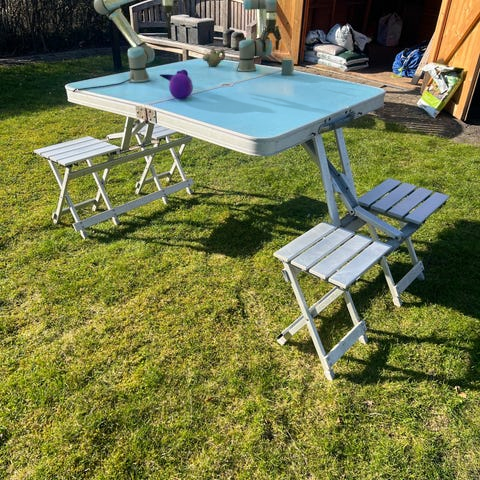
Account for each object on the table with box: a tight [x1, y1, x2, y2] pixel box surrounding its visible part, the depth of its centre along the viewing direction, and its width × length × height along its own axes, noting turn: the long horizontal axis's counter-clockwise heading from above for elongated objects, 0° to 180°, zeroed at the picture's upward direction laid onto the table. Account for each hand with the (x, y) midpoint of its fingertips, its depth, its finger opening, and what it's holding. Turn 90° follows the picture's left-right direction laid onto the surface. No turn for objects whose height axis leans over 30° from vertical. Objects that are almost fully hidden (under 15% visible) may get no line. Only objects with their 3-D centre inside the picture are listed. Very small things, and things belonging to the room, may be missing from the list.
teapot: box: [202, 47, 226, 67], centre depth 386 cm, size 21×12×15 cm, turn 120°
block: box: [281, 58, 295, 77], centre depth 348 cm, size 6×8×11 cm
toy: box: [159, 69, 194, 100], centre depth 286 cm, size 16×18×27 cm
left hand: (169, 38), depth 331 cm, fingers open, 13 cm apart
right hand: (270, 50), depth 333 cm, fingers open, 13 cm apart
